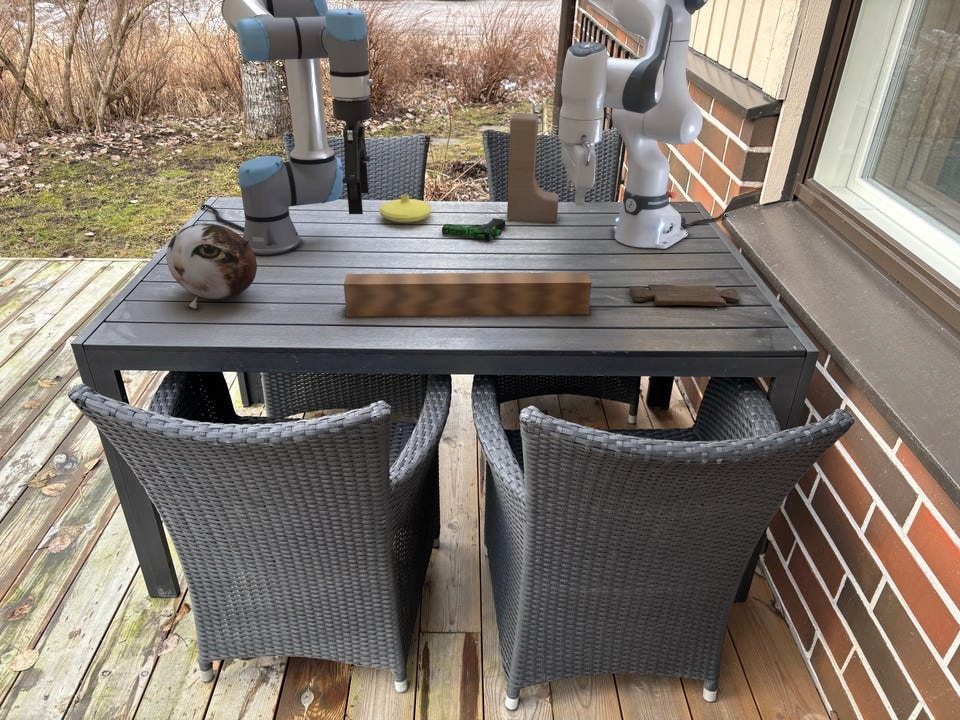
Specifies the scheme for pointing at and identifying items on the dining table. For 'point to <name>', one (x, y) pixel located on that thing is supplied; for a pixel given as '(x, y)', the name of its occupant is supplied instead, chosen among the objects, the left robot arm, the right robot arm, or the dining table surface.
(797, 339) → the dining table surface
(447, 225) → the handgun
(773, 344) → the dining table surface
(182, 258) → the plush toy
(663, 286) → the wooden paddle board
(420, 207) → the yellow knobbed lid
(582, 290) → the bar
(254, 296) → the dining table surface
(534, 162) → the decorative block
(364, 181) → the left robot arm
